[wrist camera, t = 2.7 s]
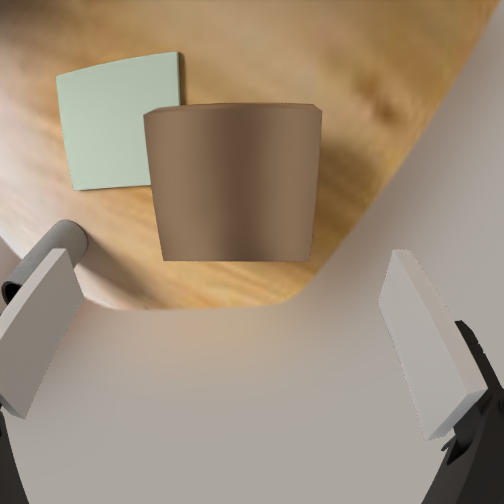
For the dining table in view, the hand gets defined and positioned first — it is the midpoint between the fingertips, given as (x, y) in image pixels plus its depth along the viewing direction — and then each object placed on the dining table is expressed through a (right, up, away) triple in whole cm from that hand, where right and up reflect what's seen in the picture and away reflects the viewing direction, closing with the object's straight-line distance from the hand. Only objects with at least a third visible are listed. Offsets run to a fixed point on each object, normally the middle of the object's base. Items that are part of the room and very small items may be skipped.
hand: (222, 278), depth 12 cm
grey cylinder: (-18, +3, +18) cm, 25 cm away
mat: (-10, +12, +11) cm, 19 cm away
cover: (0, +6, +9) cm, 11 cm away
